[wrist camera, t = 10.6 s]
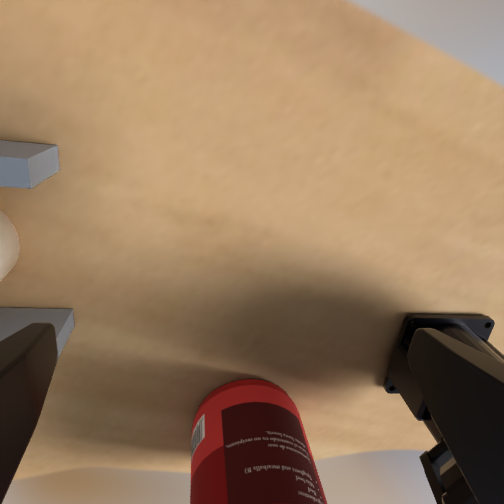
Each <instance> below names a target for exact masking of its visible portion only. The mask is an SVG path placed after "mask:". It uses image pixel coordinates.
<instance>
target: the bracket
mask: <svg viewBox="0 0 504 504" xmlns="http://www.w3.org/2000/svg"><path fill="white" fill-rule="evenodd" d="M59 170H60V167H59V157H58V146H57V145H49V144H38V143H26V142H15V141H4V140H0V186H1V187H16V188H30V189H31V188H33V187H35V186H36V185H38V184H39V183H41V182H42V181H44V180H45V179H47V178H49V177H50V176H52V175H53V174H55V173H56V172H58V171H59ZM34 322H47V323H52V324H53V325H54V327H55V332H56V341H57V349H58V358H59V356H60V354H61V352H62V350H63V348H64V346H65V344H66V342H67V340H68V338H69V336H70V334H71V332H72V330H73V328H74V316H73V309H57V308H8V307H0V341H1V340H3V339H5V338H6V337H8V336H10V335H12V334H13V333H15V332H17V331H19V330H21V329H22V328H24V327H26V326H28V325H29V324H31V323H34ZM58 358H57V360H58Z"/></svg>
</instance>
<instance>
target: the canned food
mask: <svg viewBox="0 0 504 504" xmlns="http://www.w3.org/2000/svg"><path fill="white" fill-rule="evenodd" d="M190 504H327V501H326V498H325V495H324V492H323V488H322V485H321V482H320V479H319V476H318V472H317V469H316V466H315V463H314V460H313V456H312V453H311V450H310V447H309V444H308V440H307V437H306V434H305V431H304V428H303V424H302V421H301V418H300V415H299V412H298V410H297V407H296V405H295V404H294V402H293V401H292V400H291V398H290V397H289V396H288V395H287V393H286V392H285V391H284V390H283V389H281V388H280V387H279V386H277V385H275V384H273V383H271V382H267V381H263V380H257V379H245V380H238V381H234V382H230V383H228V384H225V385H223V386H221V387H219V388H217V389H216V390H214V391H213V392H211V393H210V394H209V395H208V396H207V397H206V398H205V399H204V401H203V402H202V403H201V405H200V406H199V409H198V411H197V413H196V416H195V418H194V421H193V426H192V445H191V496H190Z"/></svg>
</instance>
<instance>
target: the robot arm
mask: <svg viewBox="0 0 504 504" xmlns="http://www.w3.org/2000/svg"><path fill="white" fill-rule="evenodd" d="M413 321H414V322H413ZM411 322H413V323H412V324H411ZM494 324H495V323H494V321H493V320H492V319H491V318H490V317H489V316H469V315H422V314H412V315H409V316H407V317H406V318H405V320H404V322H403V325H402V328H401V331H400V334H399V338H398V341H397V344H396V346H395V349H394V352H393V355H392V358H391V361H390V364H389V367H388V370H387V375H386V378H385V381H384V384H383V387H384V389H385V390H386V392H387V393H400V395H401V396H402V398H403V399H404V401H405V402H406V404H407V406H408V407H409V409H410V410H411V412H412V413H413V415H414V416H415V418H416V419H417V420H418V421H423V422H424V423H425V425H426V426H427V428H428V429H429V431H430V432H431V434H432V435H433V437H434V438H435V440H436V441H437V443H438V444H437V445H435V446H434V447H433V448H432V449H431V450H429V451H425V452H424V453H423V454H422V455H421V456H420V460H421V462H422V465H423V467H424V471H425V474H426V477H427V479H428V482H429V484H430V487H431V490H432V492H433V494H434V497H435V500H436V502H437V504H504V355H503V354H502V353H501V352H499V351H498V350H497V349H496V348H495V347H494V346H493V345H492V344H490V343H489V342H488V341H487V340H488V338H489V336H490V334H491V331H492V329H493V327H494ZM57 358H58V349H57V341H56V332H55V327H54V325H53V324H52V323H47V322H34V323H31V324H29V325H28V326H26V327H24V328H22V329H21V330H19V331H17V332H15V333H13V334H12V335H10V336H8V337H6V338H5V339H3V340H1V341H0V504H2V502H3V499H4V497H5V495H6V493H7V490H8V488H9V486H10V484H11V482H12V479H13V477H14V475H15V473H16V471H17V468H18V466H19V464H20V462H21V459H22V457H23V455H24V453H25V450H26V448H27V446H28V444H29V442H30V439H31V437H32V435H33V432H34V430H35V428H36V425H37V422H38V419H39V417H40V414H41V410H42V407H43V404H44V401H45V398H46V395H47V391H48V388H49V385H50V382H51V379H52V376H53V372H54V369H55V366H56V363H57ZM390 386H391V387H390Z"/></svg>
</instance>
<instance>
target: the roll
mask: <svg viewBox="0 0 504 504" xmlns="http://www.w3.org/2000/svg"><path fill="white" fill-rule="evenodd" d="M19 254H20V241H19V237H18V234H17V231H16V229H15V227H14V225H13V224H12V222H11V221H10V219H9V218H8V217H7V216H6V215H5V213H4V212H3V211H1V210H0V281H1V280H2V279H3V278H4V277H5V276H6V275H7V274H8V273H9V272H10V271H11V270H12V269H13V268H14V266H15V265H16V263H17V261H18V258H19Z"/></svg>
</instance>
